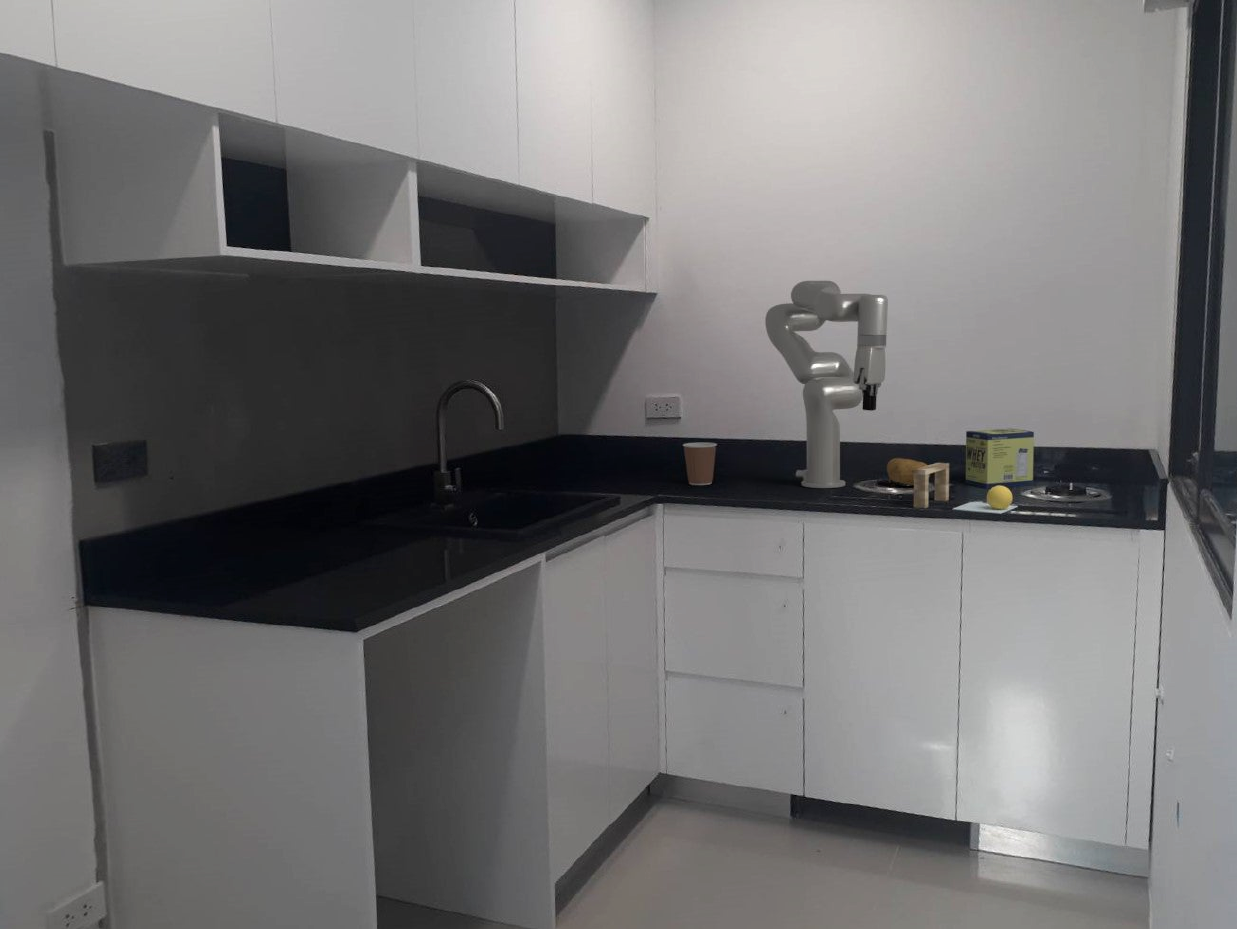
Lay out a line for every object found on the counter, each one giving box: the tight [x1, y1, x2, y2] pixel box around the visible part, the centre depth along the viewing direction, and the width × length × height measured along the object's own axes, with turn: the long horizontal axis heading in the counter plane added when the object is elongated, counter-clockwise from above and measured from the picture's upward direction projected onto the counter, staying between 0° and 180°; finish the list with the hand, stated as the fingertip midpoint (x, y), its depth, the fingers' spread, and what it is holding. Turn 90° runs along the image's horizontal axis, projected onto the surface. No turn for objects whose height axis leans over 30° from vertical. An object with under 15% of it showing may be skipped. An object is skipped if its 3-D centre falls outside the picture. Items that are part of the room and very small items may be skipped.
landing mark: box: [951, 501, 1018, 515], centre depth 261 cm, size 12×12×1 cm
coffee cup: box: [682, 442, 718, 486], centre depth 316 cm, size 10×10×12 cm
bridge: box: [913, 462, 950, 509], centre depth 269 cm, size 3×15×10 cm, turn 140°
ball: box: [986, 486, 1013, 510], centre depth 258 cm, size 6×6×6 cm
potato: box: [886, 457, 931, 485], centre depth 298 cm, size 10×14×8 cm
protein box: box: [965, 428, 1035, 490], centre depth 297 cm, size 10×16×16 cm
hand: (869, 409), depth 281 cm, fingers closed
